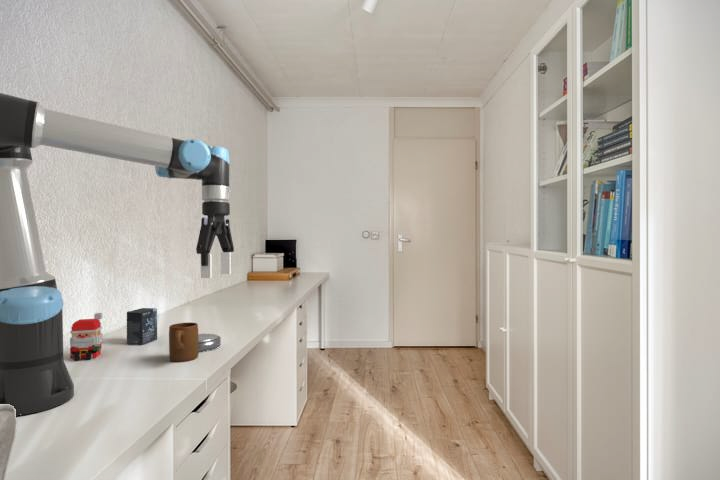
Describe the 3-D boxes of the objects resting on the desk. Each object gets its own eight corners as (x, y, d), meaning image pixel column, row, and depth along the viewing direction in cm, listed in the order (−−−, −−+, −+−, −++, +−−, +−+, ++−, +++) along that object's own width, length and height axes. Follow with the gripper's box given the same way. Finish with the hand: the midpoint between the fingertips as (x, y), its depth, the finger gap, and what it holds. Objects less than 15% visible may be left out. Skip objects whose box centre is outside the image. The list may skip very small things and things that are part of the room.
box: (142, 345, 139) (141, 311, 138) (126, 344, 140) (125, 311, 140) (158, 339, 146) (157, 307, 146) (143, 339, 147) (142, 307, 147)
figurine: (65, 362, 121) (64, 318, 121) (74, 355, 128) (73, 314, 128) (99, 359, 123) (98, 316, 123) (107, 353, 130) (106, 312, 130)
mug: (192, 366, 115) (191, 330, 115) (161, 368, 114) (161, 331, 114) (201, 354, 127) (200, 321, 127) (173, 355, 126) (172, 322, 126)
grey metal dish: (184, 354, 127) (184, 344, 127) (174, 346, 136) (174, 336, 136) (225, 348, 134) (225, 338, 133) (213, 340, 143) (213, 331, 143)
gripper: (209, 197, 113) (210, 279, 113) (244, 204, 138) (244, 272, 138) (181, 197, 114) (182, 279, 114) (220, 205, 139) (221, 272, 139)
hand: (216, 275), depth 126 cm, fingers open, 13 cm apart
